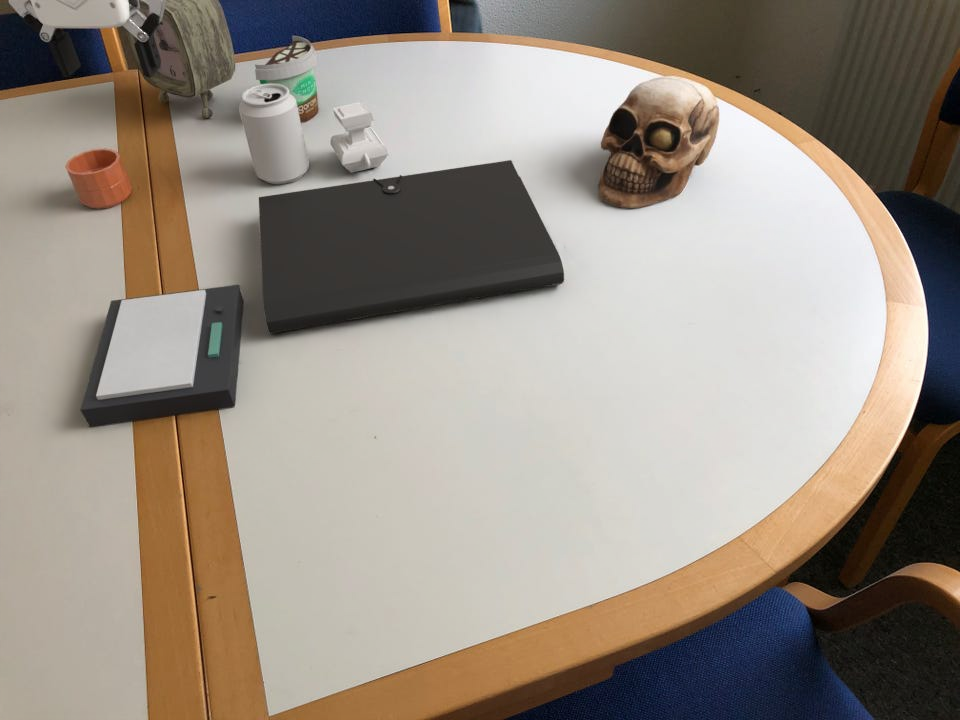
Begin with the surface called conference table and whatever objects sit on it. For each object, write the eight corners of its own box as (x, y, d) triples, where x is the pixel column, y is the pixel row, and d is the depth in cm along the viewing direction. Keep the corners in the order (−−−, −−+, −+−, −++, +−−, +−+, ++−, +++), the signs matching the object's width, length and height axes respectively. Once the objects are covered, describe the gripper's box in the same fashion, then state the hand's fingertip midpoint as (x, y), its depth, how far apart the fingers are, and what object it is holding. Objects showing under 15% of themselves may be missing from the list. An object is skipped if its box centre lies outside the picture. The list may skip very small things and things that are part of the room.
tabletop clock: (149, 104, 130) (93, -63, 113) (192, 84, 135) (145, -79, 118) (208, 125, 124) (158, -48, 107) (251, 103, 129) (210, -66, 112)
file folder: (510, 156, 105) (564, 263, 88) (510, 183, 108) (563, 292, 91) (257, 193, 100) (263, 314, 83) (264, 221, 103) (271, 342, 86)
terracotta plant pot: (76, 213, 106) (60, 176, 102) (86, 187, 111) (71, 151, 107) (128, 207, 107) (114, 170, 103) (136, 181, 112) (123, 146, 108)
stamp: (393, 173, 111) (386, 117, 105) (347, 184, 109) (338, 128, 103) (374, 145, 117) (366, 90, 111) (330, 155, 115) (320, 100, 109)
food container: (303, 134, 120) (290, 70, 113) (268, 129, 122) (253, 65, 115) (339, 99, 129) (329, 37, 122) (305, 95, 130) (293, 34, 123)
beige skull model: (599, 207, 102) (610, 104, 94) (593, 154, 116) (602, 61, 108) (722, 212, 101) (744, 109, 93) (701, 158, 115) (719, 64, 107)
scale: (89, 427, 77) (77, 405, 75) (118, 317, 90) (108, 296, 88) (235, 407, 79) (227, 385, 77) (244, 301, 91) (237, 280, 89)
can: (293, 190, 108) (274, 107, 100) (246, 182, 110) (224, 100, 102) (319, 164, 113) (304, 83, 105) (274, 157, 116) (255, 77, 107)
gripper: (-49, -83, 78) (25, 85, 89) (121, -85, 76) (173, 86, 88) (-8, -103, 83) (56, 59, 95) (151, -105, 82) (196, 59, 93)
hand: (112, 72), depth 91 cm, fingers open, 9 cm apart
